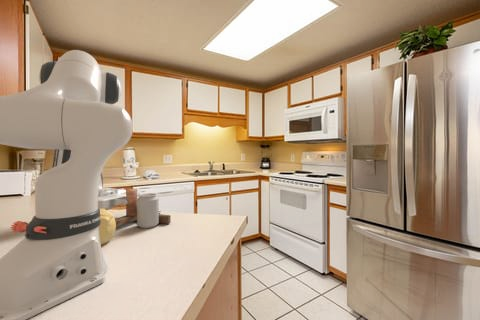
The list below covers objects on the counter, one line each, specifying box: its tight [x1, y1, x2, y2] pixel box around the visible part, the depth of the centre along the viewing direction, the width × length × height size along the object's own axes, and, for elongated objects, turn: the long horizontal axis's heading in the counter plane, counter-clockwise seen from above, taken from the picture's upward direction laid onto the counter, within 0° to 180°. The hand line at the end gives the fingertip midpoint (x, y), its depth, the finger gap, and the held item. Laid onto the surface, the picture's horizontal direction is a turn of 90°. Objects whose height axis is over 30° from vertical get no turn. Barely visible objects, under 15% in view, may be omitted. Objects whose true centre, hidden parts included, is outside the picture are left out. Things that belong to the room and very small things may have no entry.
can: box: [136, 193, 160, 229], centre depth 87 cm, size 8×8×12 cm
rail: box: [115, 210, 162, 232], centre depth 92 cm, size 28×2×1 cm, turn 162°
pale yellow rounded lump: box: [99, 208, 116, 246], centre depth 70 cm, size 12×12×11 cm
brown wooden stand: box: [115, 188, 171, 227], centre depth 86 cm, size 14×16×13 cm
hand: (132, 201), depth 90 cm, fingers open, 4 cm apart
